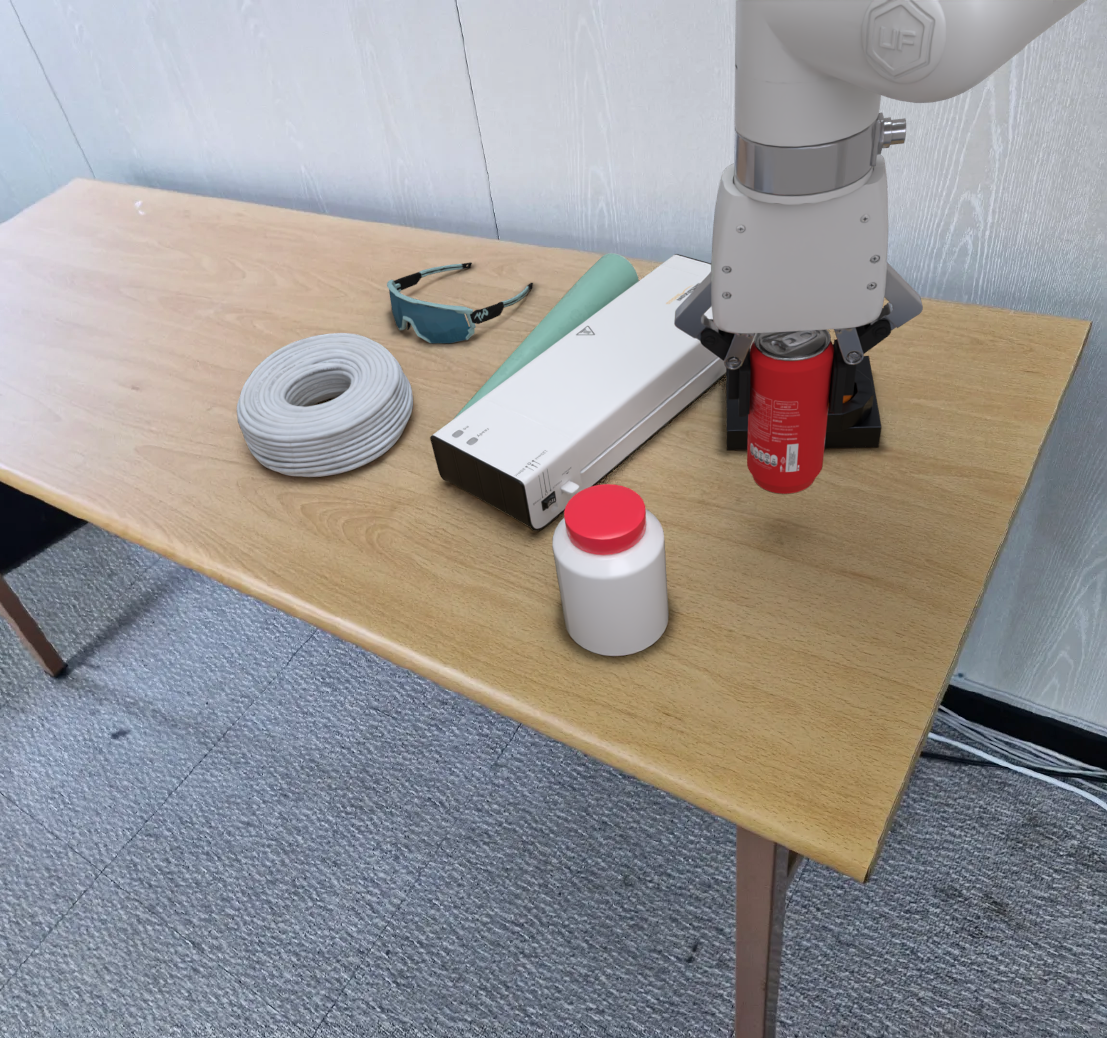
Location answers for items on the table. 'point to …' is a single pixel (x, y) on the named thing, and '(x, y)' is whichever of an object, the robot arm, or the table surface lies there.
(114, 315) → the table surface
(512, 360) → the long green cone
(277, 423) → the cable
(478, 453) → the laminator
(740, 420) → the black rectangular base
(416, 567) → the table surface
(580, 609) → the pill bottle
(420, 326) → the sunglasses
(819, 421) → the beverage can
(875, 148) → the robot arm
